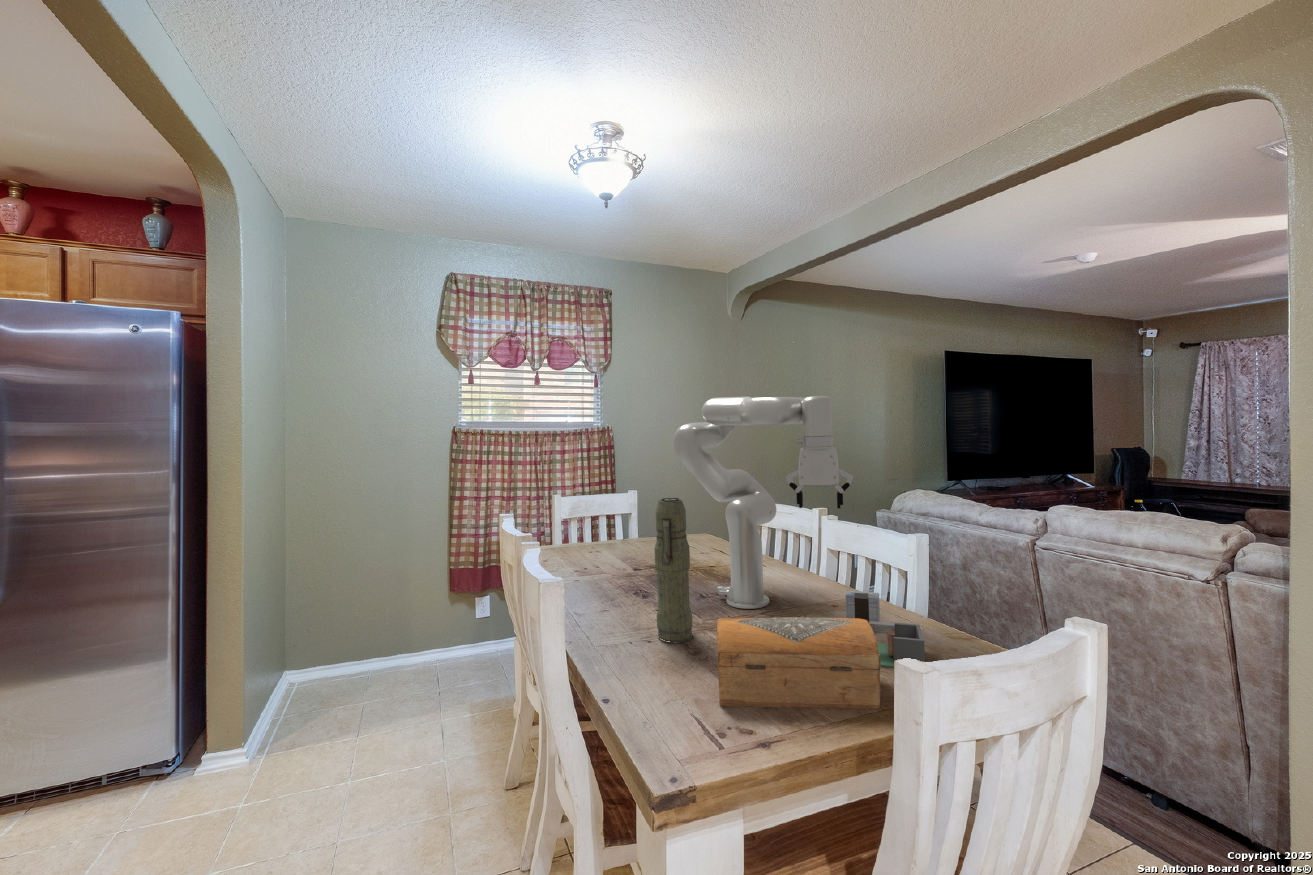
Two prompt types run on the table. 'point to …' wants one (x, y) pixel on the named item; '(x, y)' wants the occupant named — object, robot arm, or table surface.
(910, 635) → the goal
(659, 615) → the thermos
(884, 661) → the pitch mat
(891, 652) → the grey brown blocky piece
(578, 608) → the table surface
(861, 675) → the wooden box
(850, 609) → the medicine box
